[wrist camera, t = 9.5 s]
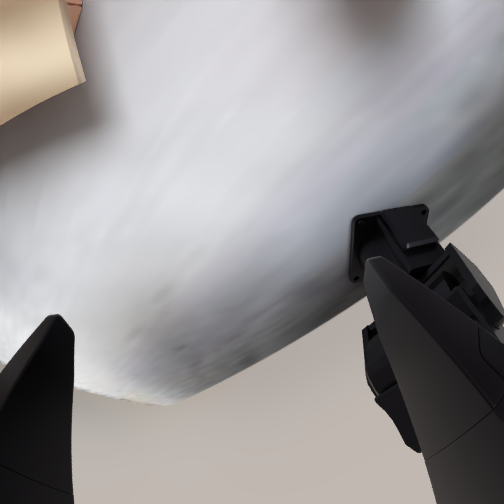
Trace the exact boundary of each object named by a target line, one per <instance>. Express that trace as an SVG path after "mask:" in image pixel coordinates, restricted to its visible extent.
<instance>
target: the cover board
mask: <svg viewBox="0 0 504 504" xmlns="http://www.w3.org/2000/svg"><path fill="white" fill-rule="evenodd" d="M83 82H86V79H85V76H84V72H83V69H82V65H81V61H80V58H79V54H78V50H77V46H76V42H75V38H74V34H73V30H72V25H71V21H70V17H69V12H68V7H67V2H66V0H0V125H2V124H4V123H5V122H7V121H9V120H10V119H12V118H14V117H15V116H17V115H19V114H21V113H22V112H24V111H26V110H28V109H30V108H31V107H33V106H35V105H37V104H39V103H41V102H43V101H45V100H47V99H49V98H51V97H53V96H55V95H57V94H59V93H61V92H63V91H65V90H67V89H70V88H72V87H74V86H76V85H79V84H81V83H83Z"/></svg>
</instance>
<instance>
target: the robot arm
mask: <svg viewBox="0 0 504 504" xmlns="http://www.w3.org/2000/svg"><path fill="white" fill-rule="evenodd" d="M428 214H429V209H428V207H427V206H426V205H425V204H420V205H414V206H405V207H400V208H394V209H388V210H383V211H378V212H373V213H367V214H361V215H357V216H356V217H354V219H353V222H352V244H351V260H350V274H349V277H350V280H351V282H353V283H357V282H361V281H364V288H365V292H366V295H367V298H368V301H369V304H370V308H371V311H372V314H373V318H374V322H373V323H371V324H370V325H368V326H366V327H365V328H364V329H363V330H362V337H363V347H364V358H365V372H366V379H367V383H368V385H369V387H370V388H371V391H372V392H373V394H374V395H375V396H376V398H375V402H376V403H377V404H378V405H379V406H380V407H381V408H382V409H383V410H385V411H386V413H387V414H388V415H389V417H390V418H391V419H392V420H393V422H394V424H395V425H396V427H397V429H398V430H399V432H400V435H401V436H402V438H403V440H404V442H405V444H406V445H407V446H408V447H410V448H411V449H413V450H414V451H416V452H417V453H421V452H422V454H423V457H424V460H425V464H426V467H427V471H428V474H429V477H430V481H431V484H432V488H433V491H434V495H435V499H436V503H437V504H504V327H503V324H504V308H503V306H502V304H501V302H500V300H499V298H498V296H497V294H496V292H495V291H494V289H493V287H492V285H491V284H490V283H489V282H488V280H487V279H486V278H485V276H484V275H483V274H482V273H481V271H480V270H479V269H478V268H477V267H476V265H474V264H473V263H472V262H471V261H470V260H469V259H468V258H467V257H466V256H465V255H464V254H463V253H462V252H460V251H459V250H458V249H457V248H456V247H455V246H454V245H452V244H451V243H449V244H448V246H447V247H446V248H445V250H444V249H443V248H442V246H441V245H440V244H439V242H438V240H439V239H438V237H437V236H436V235H435V233H434V232H433V231H432V230H431V229H430V227H429V226H428V225H427V219H428ZM359 221H362V222H361V223H359V224H358V222H359ZM74 343H75V336H74V332H73V330H72V329H71V327H70V326H69V325H68V324H67V322H66V321H65V320H64V319H63V317H62V316H61V315H59V314H54V315H49V316H47V317H46V318H45V319H44V321H43V322H42V323H41V324H40V325H39V326H38V327H37V329H36V330H35V331H34V332H33V333H32V334H31V336H30V337H29V338H28V339H27V340H26V342H25V343H24V344H23V345H22V346H21V348H20V349H19V350H18V351H17V353H16V354H15V355H14V356H13V357H12V359H11V360H10V361H9V362H8V364H7V365H6V366H5V368H4V369H3V370H2V372H1V373H0V504H74V495H73V484H72V458H71V457H72V455H71V431H72V430H71V429H72V404H73V388H74Z"/></svg>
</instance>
